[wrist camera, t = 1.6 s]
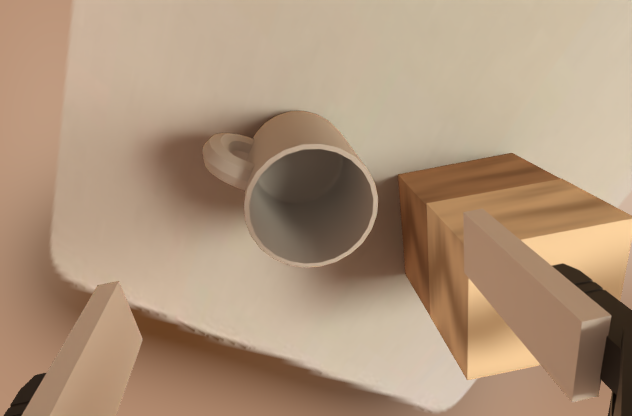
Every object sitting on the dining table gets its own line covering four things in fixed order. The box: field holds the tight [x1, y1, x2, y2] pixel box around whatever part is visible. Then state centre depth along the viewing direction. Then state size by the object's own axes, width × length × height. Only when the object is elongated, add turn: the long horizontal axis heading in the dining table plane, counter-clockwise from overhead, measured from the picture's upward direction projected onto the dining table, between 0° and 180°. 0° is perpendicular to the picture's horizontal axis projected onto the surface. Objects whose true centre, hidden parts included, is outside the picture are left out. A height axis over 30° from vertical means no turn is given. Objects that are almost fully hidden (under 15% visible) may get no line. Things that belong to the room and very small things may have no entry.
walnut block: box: [398, 153, 560, 315], centre depth 32 cm, size 9×9×6 cm
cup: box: [202, 111, 378, 268], centre depth 27 cm, size 7×10×9 cm
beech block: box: [427, 179, 632, 380], centre depth 27 cm, size 9×9×6 cm
